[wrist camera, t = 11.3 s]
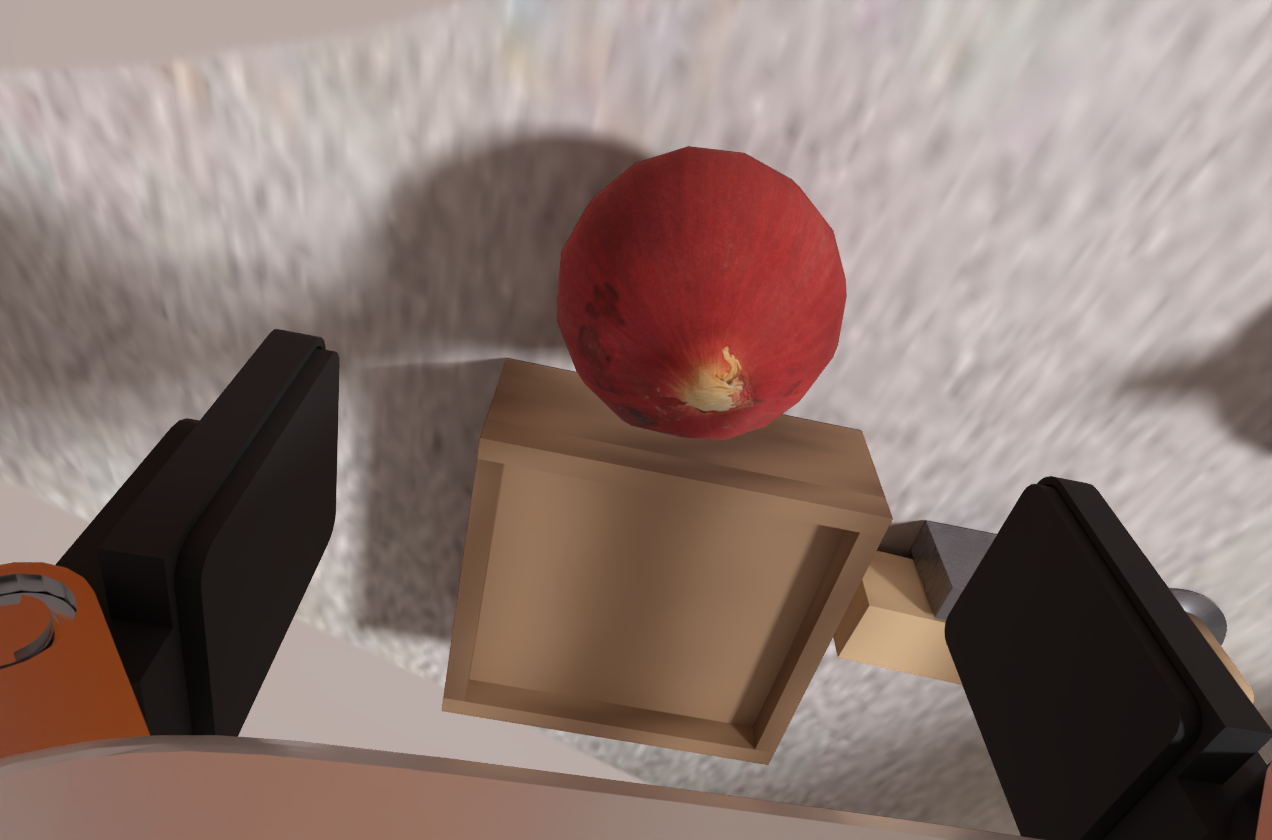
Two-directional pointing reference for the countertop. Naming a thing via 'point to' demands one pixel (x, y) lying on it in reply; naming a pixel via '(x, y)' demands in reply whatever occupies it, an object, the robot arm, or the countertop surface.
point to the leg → (920, 625)
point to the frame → (959, 551)
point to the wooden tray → (654, 570)
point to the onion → (701, 294)
